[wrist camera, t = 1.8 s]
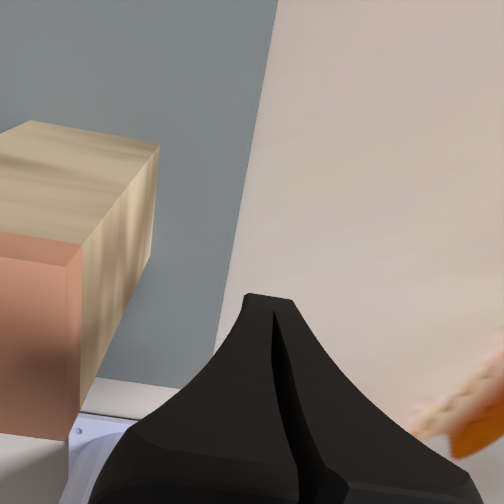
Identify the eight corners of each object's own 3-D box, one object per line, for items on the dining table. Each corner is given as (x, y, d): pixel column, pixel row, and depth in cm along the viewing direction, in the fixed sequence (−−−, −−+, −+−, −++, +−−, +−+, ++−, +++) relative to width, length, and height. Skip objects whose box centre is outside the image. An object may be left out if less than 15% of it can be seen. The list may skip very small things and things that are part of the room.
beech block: (150, 255, 20) (65, 441, 11) (34, 236, 20) (-147, 413, 11) (160, 143, 18) (65, 267, 9) (30, 120, 18) (-201, 224, 9)
